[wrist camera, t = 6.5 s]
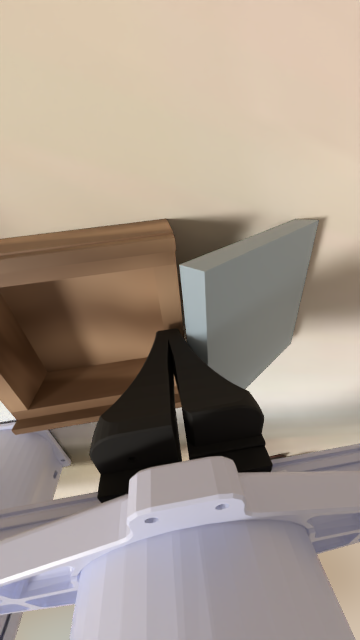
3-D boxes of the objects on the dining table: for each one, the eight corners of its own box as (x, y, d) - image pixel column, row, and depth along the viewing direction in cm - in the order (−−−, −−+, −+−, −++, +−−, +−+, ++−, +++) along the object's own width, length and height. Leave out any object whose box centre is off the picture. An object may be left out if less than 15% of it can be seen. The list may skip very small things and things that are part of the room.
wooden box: (183, 358, 21) (192, 406, 17) (45, 380, 20) (16, 435, 16) (166, 218, 14) (174, 235, 10) (-40, 243, 14) (-131, 273, 9)
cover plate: (275, 336, 21) (290, 343, 20) (194, 409, 15) (210, 424, 14) (295, 218, 15) (318, 219, 14) (179, 264, 10) (204, 271, 9)
